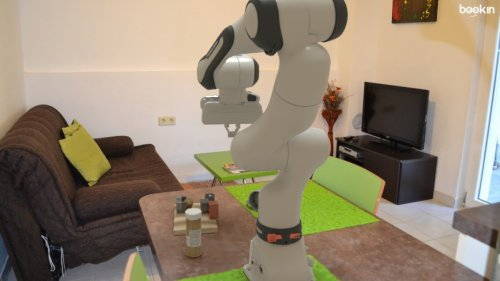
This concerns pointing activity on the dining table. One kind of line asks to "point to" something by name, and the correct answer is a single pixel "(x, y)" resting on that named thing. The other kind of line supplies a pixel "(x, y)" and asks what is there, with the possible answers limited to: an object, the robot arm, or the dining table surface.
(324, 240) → the dining table surface
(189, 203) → the brown ball
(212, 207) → the lever
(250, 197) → the ceramic mug
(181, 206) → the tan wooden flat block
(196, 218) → the sprinkles bottle
